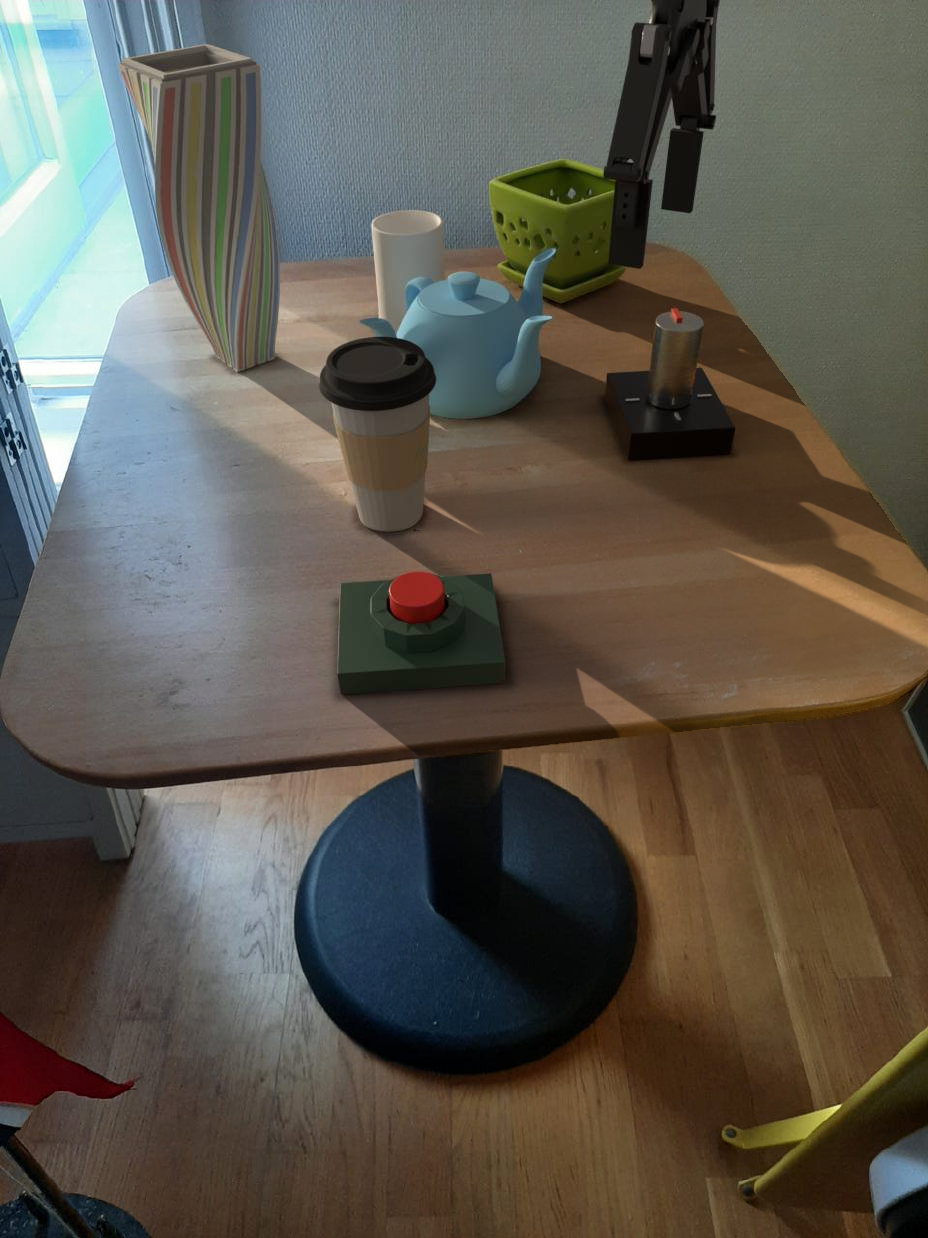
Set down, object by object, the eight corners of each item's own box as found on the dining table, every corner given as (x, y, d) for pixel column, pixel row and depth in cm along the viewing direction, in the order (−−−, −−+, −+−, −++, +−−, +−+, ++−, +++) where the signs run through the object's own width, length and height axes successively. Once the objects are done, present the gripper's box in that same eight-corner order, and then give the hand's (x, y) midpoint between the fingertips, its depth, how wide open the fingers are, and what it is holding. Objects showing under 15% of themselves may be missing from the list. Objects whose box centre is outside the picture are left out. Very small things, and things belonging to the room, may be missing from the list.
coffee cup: (457, 529, 81) (452, 372, 71) (354, 555, 79) (334, 397, 68) (421, 474, 88) (412, 323, 77) (325, 496, 85) (302, 344, 75)
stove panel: (730, 454, 89) (736, 425, 87) (628, 460, 89) (631, 432, 86) (697, 393, 98) (702, 365, 96) (604, 398, 97) (606, 371, 95)
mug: (359, 307, 115) (348, 207, 107) (421, 293, 118) (416, 195, 110) (393, 345, 107) (385, 241, 99) (460, 330, 110) (457, 227, 102)
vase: (221, 399, 99) (150, 84, 79) (165, 355, 107) (88, 58, 86) (327, 359, 105) (287, 58, 85) (267, 321, 113) (217, 36, 93)
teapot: (553, 432, 93) (559, 315, 84) (369, 430, 94) (357, 315, 85) (550, 352, 105) (555, 244, 97) (388, 352, 106) (379, 244, 98)
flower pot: (560, 316, 112) (566, 208, 104) (484, 282, 120) (483, 179, 111) (637, 283, 119) (648, 179, 110) (560, 253, 127) (565, 154, 118)
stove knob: (696, 408, 90) (709, 326, 84) (651, 410, 89) (662, 329, 84) (684, 385, 93) (697, 306, 87) (641, 388, 93) (651, 309, 87)
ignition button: (446, 622, 67) (445, 604, 66) (391, 626, 67) (389, 608, 66) (442, 587, 70) (442, 569, 69) (390, 590, 70) (388, 572, 68)
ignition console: (505, 683, 67) (505, 643, 65) (340, 695, 67) (334, 655, 64) (491, 593, 75) (491, 554, 72) (343, 603, 74) (337, 565, 71)
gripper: (688, -96, 73) (656, 185, 88) (570, -53, 57) (555, 283, 72) (783, -94, 71) (734, 195, 85) (688, -48, 55) (647, 299, 69)
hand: (652, 236), depth 78 cm, fingers open, 13 cm apart
